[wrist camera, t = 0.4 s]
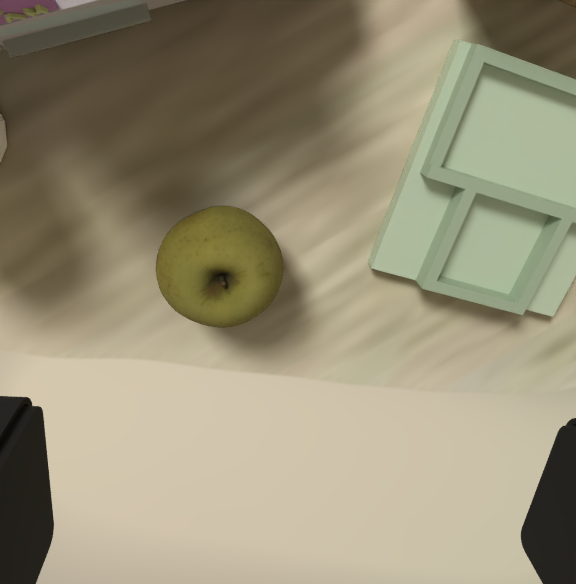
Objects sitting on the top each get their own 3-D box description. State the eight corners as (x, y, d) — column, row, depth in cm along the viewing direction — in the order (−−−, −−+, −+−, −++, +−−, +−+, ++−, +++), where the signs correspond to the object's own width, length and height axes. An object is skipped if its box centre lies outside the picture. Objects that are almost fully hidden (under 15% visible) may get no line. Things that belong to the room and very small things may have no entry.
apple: (289, 279, 40) (298, 325, 33) (184, 305, 40) (172, 356, 33) (263, 179, 37) (268, 208, 30) (149, 208, 37) (129, 243, 30)
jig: (453, 40, 34) (470, 39, 31) (652, 112, 37) (681, 117, 34) (367, 262, 40) (376, 276, 37) (545, 309, 42) (563, 326, 40)
